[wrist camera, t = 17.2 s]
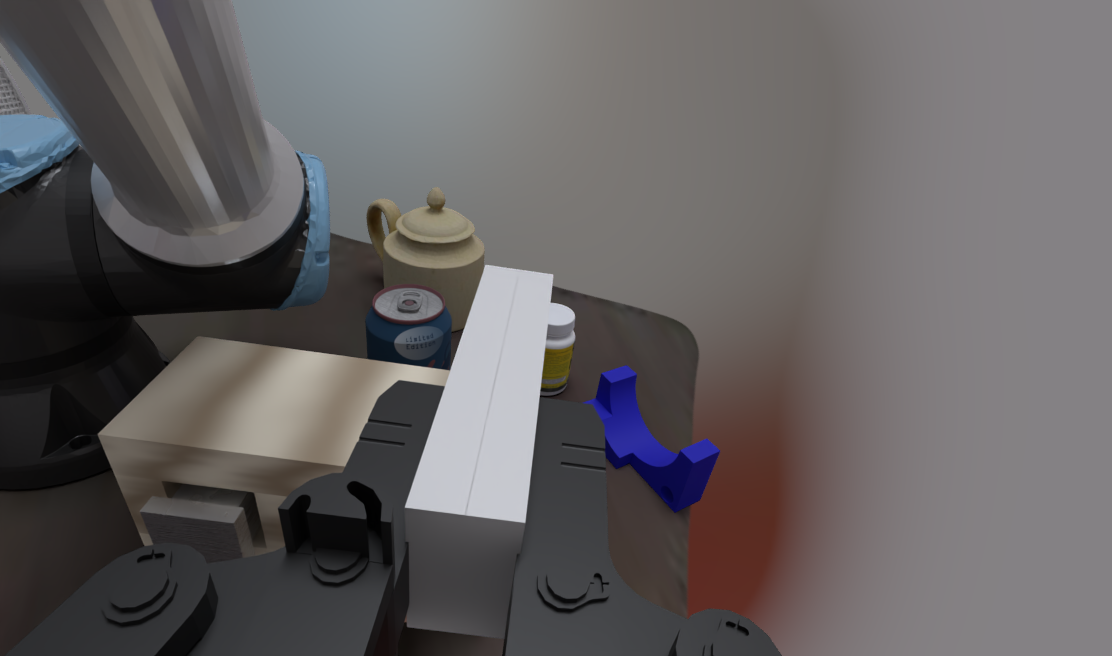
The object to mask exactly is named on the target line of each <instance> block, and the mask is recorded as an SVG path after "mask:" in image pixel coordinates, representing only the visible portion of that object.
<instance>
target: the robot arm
mask: <svg viewBox="0 0 1112 656" xmlns="http://www.w3.org/2000/svg"><path fill="white" fill-rule="evenodd" d="M0 43H1V44H2V45H3V47H4V48H5V49H6V51H7V52H8V53H9V54H10V56H11V57H12V58H13V60H14V61H15V62H16V63H17V64H18V66H19V67H20V68H21V70H22V71H23V72H24V73H25V75H26V76H27V77H28V79H29V80H30V81H31V82H32V84H33V85H34V86H35V88H36V89H37V90H38V91H39V93H40V94H41V95H42V97H43V98H44V99H45V100H46V102H47V103H48V104H49V105H50V107H51V108H52V109H53V111H54V112H55V113H56V114H57V116H58V117H59V118H60V119H61V120H59V119H57V118H47V117H45V116H42V115H25V114H18V115H0V489H32V488H41V487H48V486H53V485H58V484H63V483H67V482H71V481H75V480H78V479H82V478H85V477H88V476H91V475H93V474H96V473H99V472H101V471H104V470H106V469H109V468H111V465H110V463H109V460H108V458H107V456H106V453H105V451H104V449H103V446H102V444H101V441H100V439H99V437H98V433H99V432H100V431H101V430H102V429H104V428H105V427H106V426H107V425H108V424H109V423H110V422H111V421H112V420H113V419H114V418H115V417H116V416H117V415H118V414H119V413H120V412H121V411H122V410H123V409H124V408H125V407H126V406H127V405H128V404H129V403H130V402H131V401H132V400H133V399H134V398H135V397H136V396H137V395H138V394H139V393H140V392H141V391H142V390H143V389H144V388H145V387H146V386H147V385H148V384H149V383H150V382H152V381H153V380H154V379H155V378H156V377H157V376H158V375H159V374H160V373H161V372H162V371H163V370H164V369H165V368H166V367H167V366H168V365H169V364H170V363H171V362H170V360H169V359H168V358H167V357H166V356H165V355H164V354H163V353H161V352H160V351H158V349H157V347H156V346H155V344H154V343H153V341H152V340H151V339H150V338H149V336H148V335H147V334H146V333H145V332H144V331H143V329H142V328H141V327H140V326H139V325H138V324H137V323H136V321H135V320H134V318H133V316H137V315H156V314H175V313H194V312H213V311H232V310H252V309H271V310H273V311H274V310H279V311H280V310H284V309H286V308H288V307H295V306H306V305H311V304H314V303H316V302H317V301H319V300H320V299H321V298H322V297H323V295H324V293H325V291H326V288H327V284H328V276H329V254H328V251H329V244H330V214H329V195H328V185H327V178H326V171H325V168H324V165H323V163H322V161H321V160H320V159H319V158H318V157H316V156H314V155H311V154H304V153H303V152H300V151H294V150H293V148H292V146H291V145H290V143H289V142H288V141H287V140H286V138H285V137H284V136H283V135H282V134H281V133H280V132H279V131H278V130H277V129H276V128H275V127H274V126H272V125H271V124H270V123H268V122H267V121H266V120H264V119H263V117H262V114H261V110H260V106H259V102H258V98H257V95H256V91H255V87H254V83H253V79H252V76H251V72H250V69H249V64H248V61H247V57H246V53H245V50H244V46H243V41H242V38H241V34H240V30H239V26H238V23H237V19H236V15H235V11H234V8H233V4H232V0H0ZM79 144H80V145H81V146H82V147H80V146H79ZM552 282H553V274H545V273H539V272H532V271H525V270H517V269H511V268H504V267H497V266H490V265H486V266H485V268H484V271H483V274H482V277H481V280H480V283H479V286H478V289H477V292H476V295H475V298H474V301H473V304H472V307H471V310H470V313H469V316H468V319H467V322H466V325H465V328H464V331H463V334H462V337H461V340H460V343H459V346H458V349H457V352H456V355H455V358H454V361H453V364H452V367H451V370H450V373H449V376H448V379H447V382H446V385H445V386H440V385H433V384H425V383H418V382H410V381H403V380H398V381H397V382H396V383H394V384H393V385H392V386H391V387H390V388H388V389H387V390H386V391H385V392H384V393H382V394H381V395H380V396H379V397H378V399H377V401H376V403H375V405H374V407H373V409H372V411H371V413H370V415H369V418H368V422H367V423H366V424H365V426H364V428H363V430H362V432H361V434H360V436H359V441H358V442H357V443H356V445H355V447H354V449H353V451H352V453H351V455H350V457H349V460H348V462H347V464H346V466H345V468H344V470H343V472H342V473H331V474H327V475H324V476H321V477H317V478H314V479H311V480H309V481H307V482H306V483H304V484H303V485H301V486H300V487H298V488H296V489H295V490H293V491H292V492H291V493H290V494H289V495H288V496H287V498H286V499H285V500H284V501H283V502H282V504H281V505H280V506H279V507H278V512H279V517H280V522H281V527H282V532H283V537H284V542H285V546H284V547H282V548H280V549H278V550H276V551H273V552H269V553H265V554H261V555H257V556H251V557H245V558H239V559H233V560H227V561H221V562H215V563H209V564H207V563H206V561H205V558H204V556H203V555H202V554H200V553H199V552H197V551H196V550H195V549H193V548H192V547H190V546H187V545H181V544H175V543H162V544H156V545H149V546H144V547H141V548H139V549H136V550H134V551H132V552H129V553H127V554H124V555H122V556H120V557H118V558H116V559H115V560H113V561H112V562H111V563H109V564H108V565H106V566H105V567H104V568H102V569H101V570H99V571H98V572H97V573H95V574H94V575H93V576H92V577H91V578H90V579H89V580H87V581H86V582H85V583H84V584H83V585H82V586H81V587H80V588H79V589H77V590H76V591H75V592H74V593H73V594H72V595H71V596H70V597H69V598H68V599H66V600H65V601H64V602H63V603H62V604H61V605H60V606H59V607H58V608H57V609H55V610H54V611H53V612H52V613H51V614H50V615H49V616H48V617H47V618H45V619H44V620H43V621H42V622H41V623H40V624H39V625H38V626H37V627H36V628H34V629H33V630H32V631H31V632H30V633H29V634H28V635H27V636H26V637H24V638H23V639H22V640H21V641H20V642H19V643H18V644H17V645H16V646H15V647H13V648H12V649H11V650H10V651H9V652H8V653H7V654H6V655H5V656H398V643H399V639H400V636H401V632H402V629H403V625H404V621H405V618H406V614H407V627H410V628H419V629H427V630H435V631H443V632H451V633H460V634H468V635H476V636H484V637H493V638H501V639H504V646H503V654H502V656H782V655H781V654H780V652H779V651H778V649H777V648H776V646H775V645H774V643H773V642H772V641H771V639H770V637H769V636H768V635H767V634H766V633H765V632H764V631H762V630H761V629H760V628H759V627H758V626H757V625H755V624H754V623H753V622H752V621H751V620H749V619H747V618H745V617H743V616H741V615H738V614H736V613H734V612H732V611H730V610H720V609H707V610H704V611H701V612H698V613H695V614H692V615H691V617H690V618H689V619H686V618H684V617H681V616H679V615H677V614H675V613H673V612H671V611H668V610H666V609H664V608H662V607H660V606H658V605H655V604H653V603H651V602H650V601H648V600H646V599H644V598H643V597H641V596H639V595H638V594H637V593H635V592H634V591H633V590H632V589H631V588H630V587H629V586H628V585H626V584H625V582H624V581H623V580H622V578H621V577H620V576H619V574H618V573H617V571H616V569H615V567H614V565H613V563H612V560H611V558H610V552H609V546H608V520H607V487H606V472H605V470H606V455H605V425H604V424H603V422H602V420H601V418H600V417H599V415H598V413H597V411H596V409H595V408H594V406H593V404H586V403H579V402H571V401H564V400H557V399H549V398H542V397H540V389H541V380H542V371H543V362H544V353H545V345H546V336H547V327H548V318H549V309H550V300H551V292H552Z"/></svg>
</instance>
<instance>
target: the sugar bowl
mask: <svg viewBox="0 0 1112 656" xmlns="http://www.w3.org/2000/svg"><path fill="white" fill-rule="evenodd" d="M427 203H428V205H429V206H427V207H421V208H417V209H414V210H412V211H410V212H408V213H406V214H404V215H402V216H401V213H400V211H399V209H398V207H397V206H396V204H395V203H394V202H392V201H390V200H388V199H378V200H376V201H374V202H373V203H372V204H371V205H370V206H369V208H368V211H367V225H368V231H369V235H370V238H371V241H372V244H373V246H374V249H375V250H376V252H377V254H378V256H379V258H380V259H381V261H382V262H383V272H384V289H385V288H387V287H390V286H394V285H400V284H417V285H423V286H427V287H430V288H432V289H434V290H436V291H438V292H439V293H440V294H441V295H442V296H443V297H444V300H445V306H446V308H447V309H448V311H449V313H450V315H451V318H452V332H454V331H458V330H461V329H463V328H465V325H466V322H467V319H468V316H469V313H470V310H471V307H472V304H473V301H474V298H475V295H476V292H477V289H478V286H479V283H480V280H481V277H482V274H483V270H484V245H483V243H482V242H481V240H480V239H479V238H478V237H476V236H475V235H474V234H473V233H474V232H475V229H474V225H473V224H472V223H471V222H470V221H469V220H468V219H467V218H465V217H463V216H462V215H461V214H460V213H458V212H456V211H453V210H451V209H448V208H444V207H443V206H444V204H445V196H444V194H443V193H442V191H441V190H440V189H439V188H438V187H435V188H433V189H432V190H431V191H430V192H429V194H428V197H427ZM381 212H383V213H384V215H385V217H386V219H387V223H388V228H389V235H388V236H387V237H385V234H384V231H383V227H382V219H381Z"/></svg>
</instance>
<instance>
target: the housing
mask: <svg viewBox="0 0 1112 656" xmlns="http://www.w3.org/2000/svg"><path fill="white" fill-rule="evenodd" d="M449 373H450V370H442V369H435V368H428V367H420V366H413V365H406V364H398V363H391V362H384V361H376V360H369V359H362V358H354V357H347V356H340V355H332V354H325V353H318V352H310V351H303V350H296V349H288V348H281V347H273V346H266V345H259V344H251V343H244V342H237V341H229V340H222V339H215V338H207V337H200V336H197V337H196V338H195V339H194V340H193V341H192V342H191V343H190V344H189V345H188V346H187V347H186V348H185V349H184V350H183V351H182V352H181V353H180V354H179V355H178V356H177V357H176V358H175V359H174V360H173V361H172V362H171V363H170V364H169V365H168V366H167V367H166V368H165V369H164V370H163V371H162V372H161V373H160V374H159V375H158V376H157V377H156V378H155V379H154V380H153V381H152V382H150V383H149V384H148V385H147V386H146V387H145V388H144V389H143V390H142V391H141V392H140V393H139V394H138V395H137V396H136V397H135V398H134V399H133V400H132V401H131V402H130V403H129V404H128V405H127V406H126V407H125V408H124V409H123V410H122V411H121V412H120V413H119V414H118V415H117V416H116V417H115V418H114V419H113V420H112V421H111V422H110V423H109V424H108V425H107V426H106V427H105V428H104V429H102V430H101V431H100V432H99V433H98V437H99V439H100V441H101V444H102V446H103V449H104V451H105V453H106V456H107V458H108V460H109V463H110V465H111V468H112V470H113V472H114V475H115V477H116V480H117V482H118V484H119V487H120V489H121V491H122V494H123V496H124V499H125V501H126V503H127V506H128V508H129V510H130V513H131V515H132V518H133V520H134V522H135V525H136V527H137V529H138V532H139V534H140V537H141V539H142V541H143V544H144V546H149V545H153V543H152V540H151V538H150V535H149V533H148V530H147V528H146V526H145V523H144V521H143V518H142V516H141V513H140V511H141V509H142V508H143V507H144V506H145V504H146V503H147V502H148V501H149V499H150V498H151V497H152V496H155V497H163V498H172V497H173V496H174V494H175V493H176V492H177V490H178V489H179V488H180V487H181V485H182V484H183V483H184V484H192V485H200V486H208V487H216V488H223V489H231V490H239V491H247V492H254V494H255V499H256V503H257V507H258V512H259V516H260V520H261V525H262V526H261V528H260V529H259V531H258V533H257V535H256V536H255V538H254V540H253V542H252V543H253V547H254V551H255V555H256V556H257V555H261V554H265V553H269V552H273V551H276V550H278V549H280V548H282V547H284V546H285V542H284V537H283V532H282V527H281V522H280V517H279V512H278V507H279V506H280V505H281V504H282V502H283V501H284V500H285V499H286V498H287V496H288V495H289V494H290V493H291V492H292V491H293V490H295V489H296V488H298V487H300V486H301V485H303V484H304V483H306V482H307V481H309V480H311V479H314V478H317V477H321V476H324V475H327V474H331V473H342V472H343V470H344V468H345V466H346V464H347V462H348V460H349V457H350V455H351V453H352V451H353V449H354V447H355V445H356V443H357V442H358V441H359V436H360V434H361V432H362V430H363V428H364V426H365V424H366V423H367V422H368V418H369V415H370V413H371V411H372V409H373V407H374V405H375V403H376V401H377V399H378V397H379V396H380V395H381V394H382V393H384V392H385V391H386V390H387V389H388V388H390V387H391V386H392V385H393V384H394V383H396V382H397V381H398V380H403V381H410V382H418V383H425V384H433V385H440V386H445V385H446V382H447V379H448V376H449Z"/></svg>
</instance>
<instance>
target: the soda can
mask: <svg viewBox="0 0 1112 656" xmlns="http://www.w3.org/2000/svg"><path fill="white" fill-rule="evenodd" d="M451 332H452V318H451V315H450V313H449V311H448V309H447V308H446V306H445V300H444V297H443V296H442V295H441V294H440V293H439V292H438V291H436V290H434V289H432V288H430V287H427V286H423V285H417V284H400V285H394V286H390V287H387V288H385V289H383V290H381V291H380V292H378V293H377V294H376V295H375V296H374V298H373V301H372V307H371V309H370V310H369V312H368V314H367V316H366V338H367V355H368V359H369V360H376V361H384V362H391V363H398V364H406V365H413V366H420V367H428V368H435V369H442V370H450V359H451Z"/></svg>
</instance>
